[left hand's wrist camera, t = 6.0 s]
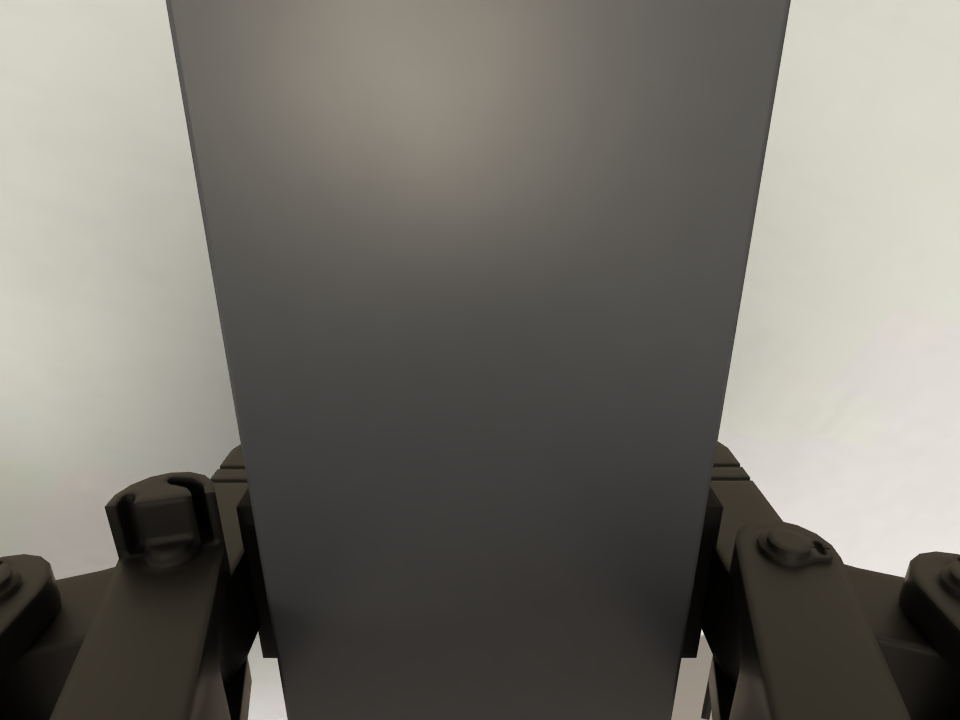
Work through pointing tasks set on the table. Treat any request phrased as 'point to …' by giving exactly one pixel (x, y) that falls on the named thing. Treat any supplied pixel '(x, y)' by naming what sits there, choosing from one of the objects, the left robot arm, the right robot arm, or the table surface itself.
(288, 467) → the post
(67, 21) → the table surface
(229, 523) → the left robot arm
